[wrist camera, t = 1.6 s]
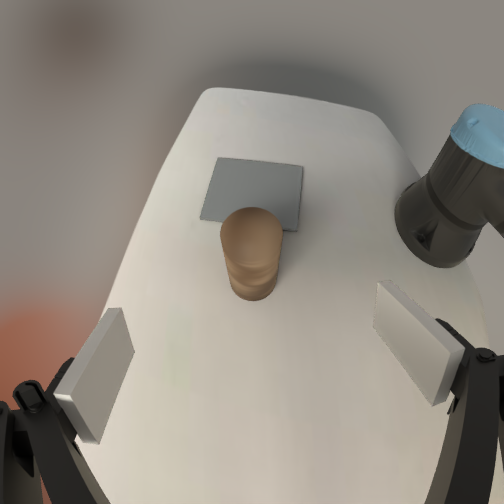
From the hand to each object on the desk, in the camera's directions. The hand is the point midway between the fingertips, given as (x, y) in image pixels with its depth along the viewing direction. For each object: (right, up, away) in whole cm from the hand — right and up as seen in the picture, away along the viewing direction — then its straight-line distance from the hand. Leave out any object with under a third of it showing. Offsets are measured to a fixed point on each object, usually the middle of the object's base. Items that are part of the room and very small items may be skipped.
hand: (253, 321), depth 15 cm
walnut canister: (0, 0, +26) cm, 26 cm away
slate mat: (0, +13, +32) cm, 34 cm away
